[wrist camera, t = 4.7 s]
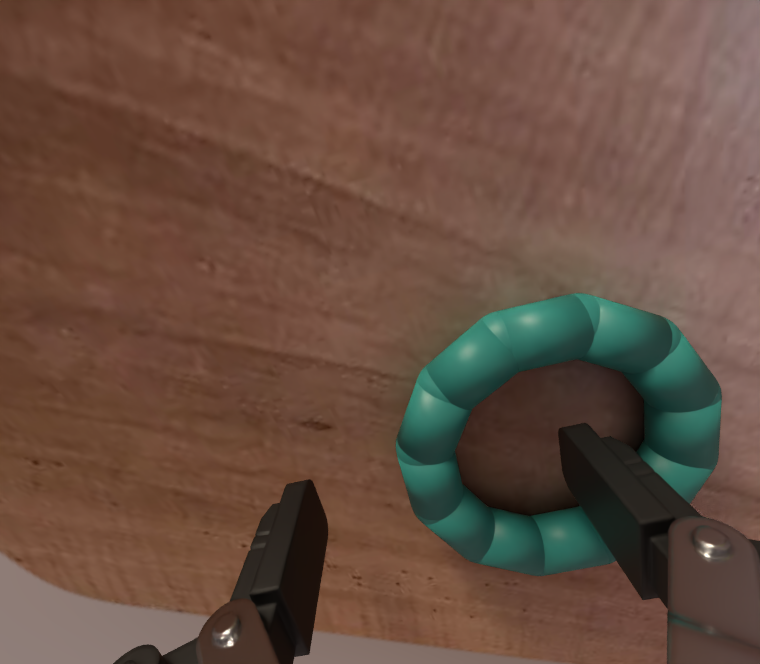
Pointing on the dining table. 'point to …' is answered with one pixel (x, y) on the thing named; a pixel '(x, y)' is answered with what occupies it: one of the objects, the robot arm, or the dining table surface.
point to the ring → (538, 349)
